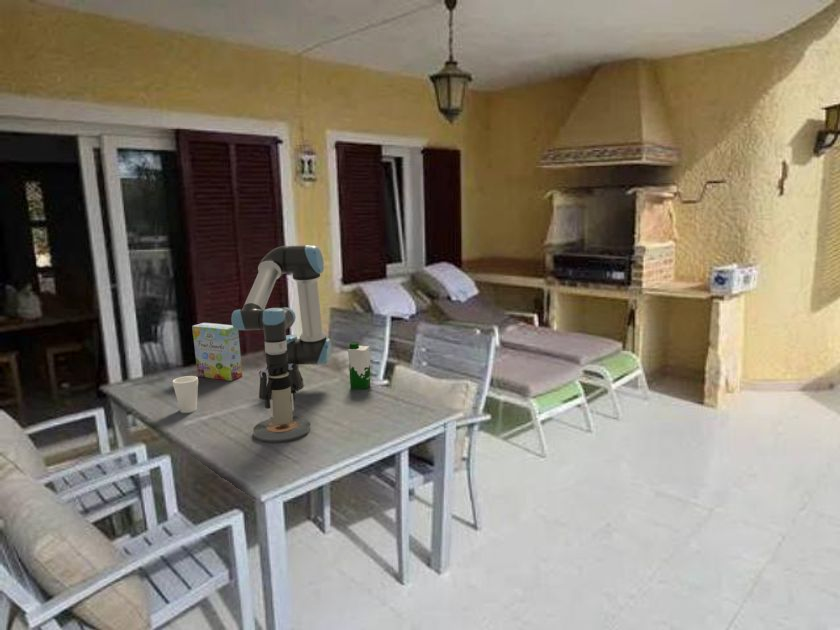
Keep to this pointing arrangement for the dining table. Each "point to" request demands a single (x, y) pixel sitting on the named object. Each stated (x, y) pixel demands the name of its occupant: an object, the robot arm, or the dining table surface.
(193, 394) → the foam cup
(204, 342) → the snack box
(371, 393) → the dining table surface
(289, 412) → the travel mug
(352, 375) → the soya milk
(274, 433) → the grey flat disc
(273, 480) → the dining table surface
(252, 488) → the dining table surface
